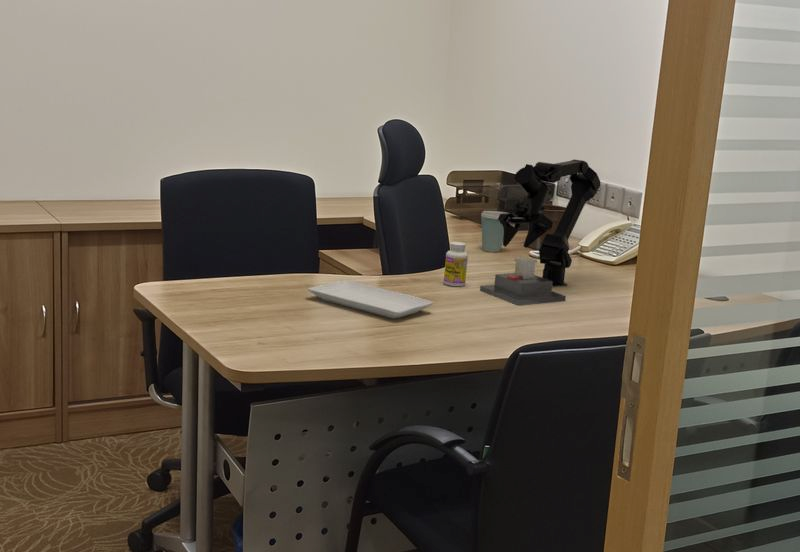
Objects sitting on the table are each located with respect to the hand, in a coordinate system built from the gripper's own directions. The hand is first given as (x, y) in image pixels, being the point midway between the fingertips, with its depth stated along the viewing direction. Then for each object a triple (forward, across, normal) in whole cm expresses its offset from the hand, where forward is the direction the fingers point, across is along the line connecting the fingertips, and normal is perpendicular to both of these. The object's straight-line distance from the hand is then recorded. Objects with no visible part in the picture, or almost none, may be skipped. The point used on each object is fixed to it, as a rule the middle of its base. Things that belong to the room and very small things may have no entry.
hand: (514, 246), depth 274 cm
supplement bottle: (+15, -17, -2) cm, 23 cm away
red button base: (+12, +1, +9) cm, 15 cm away
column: (+12, +1, +9) cm, 15 cm away
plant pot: (-28, -58, +59) cm, 87 cm away
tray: (+37, -4, -35) cm, 51 cm away
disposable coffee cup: (-15, -58, +37) cm, 71 cm away
